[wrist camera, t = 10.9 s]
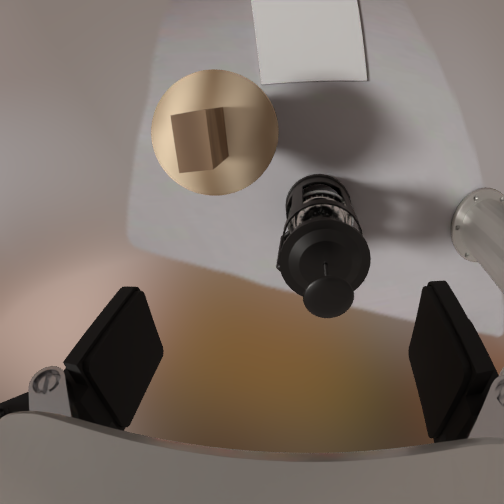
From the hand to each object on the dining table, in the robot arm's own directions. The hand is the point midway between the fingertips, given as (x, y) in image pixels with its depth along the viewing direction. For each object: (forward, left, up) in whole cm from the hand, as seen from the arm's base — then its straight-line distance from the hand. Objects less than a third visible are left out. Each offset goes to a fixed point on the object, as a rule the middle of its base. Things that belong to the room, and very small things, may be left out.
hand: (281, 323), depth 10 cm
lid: (+8, -4, -24) cm, 26 cm away
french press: (-2, +9, -36) cm, 38 cm away
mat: (-3, -16, -36) cm, 40 cm away
